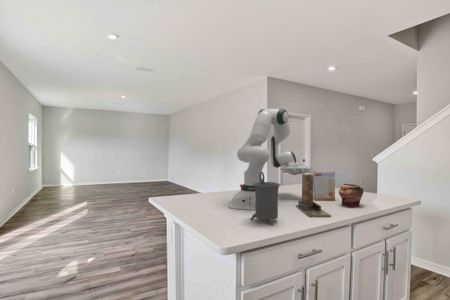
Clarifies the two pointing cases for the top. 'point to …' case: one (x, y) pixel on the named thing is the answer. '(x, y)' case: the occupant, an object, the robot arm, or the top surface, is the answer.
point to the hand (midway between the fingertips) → (299, 170)
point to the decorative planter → (351, 195)
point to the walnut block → (307, 189)
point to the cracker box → (324, 185)
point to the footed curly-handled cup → (266, 200)
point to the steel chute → (312, 210)
